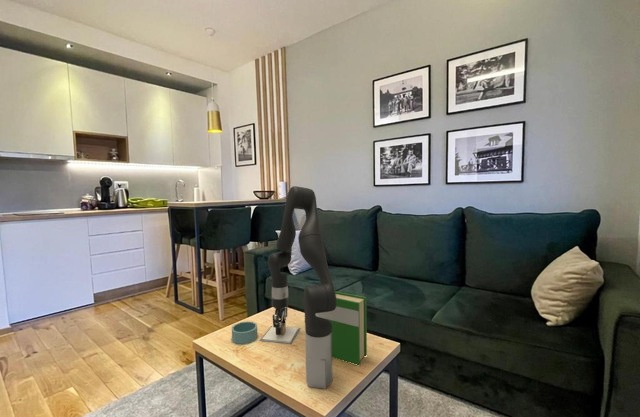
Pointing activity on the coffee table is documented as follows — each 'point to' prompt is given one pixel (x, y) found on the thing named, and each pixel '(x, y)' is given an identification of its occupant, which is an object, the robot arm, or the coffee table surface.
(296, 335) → the rubber mat
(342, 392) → the coffee table surface
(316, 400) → the coffee table surface
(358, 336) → the hardback book
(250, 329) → the teal pet bowl
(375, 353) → the coffee table surface
